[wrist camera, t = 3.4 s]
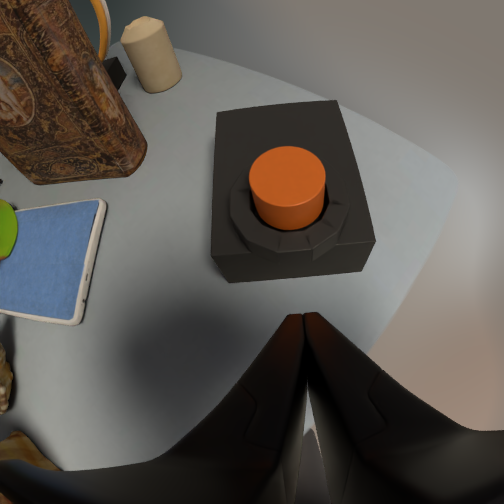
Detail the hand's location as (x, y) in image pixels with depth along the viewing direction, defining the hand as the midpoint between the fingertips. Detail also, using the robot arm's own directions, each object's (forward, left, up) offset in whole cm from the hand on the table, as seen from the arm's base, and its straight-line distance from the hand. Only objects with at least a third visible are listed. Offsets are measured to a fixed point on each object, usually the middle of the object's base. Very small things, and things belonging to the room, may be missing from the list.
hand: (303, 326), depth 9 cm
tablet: (+26, +12, -13) cm, 32 cm away
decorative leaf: (+31, +14, -9) cm, 35 cm away
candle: (+34, -14, -14) cm, 40 cm away
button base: (+9, -9, -13) cm, 18 cm away
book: (+31, 0, -14) cm, 34 cm away
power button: (+6, -6, -7) cm, 11 cm away
